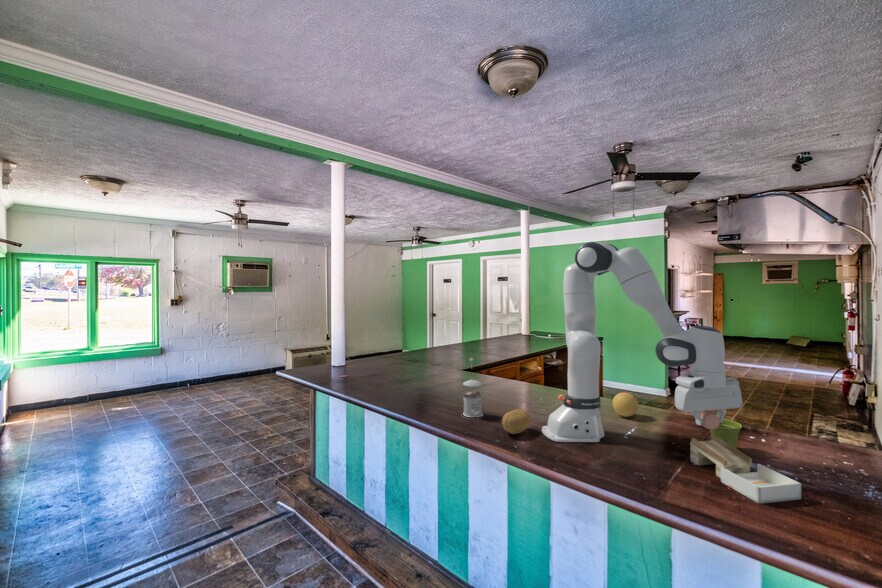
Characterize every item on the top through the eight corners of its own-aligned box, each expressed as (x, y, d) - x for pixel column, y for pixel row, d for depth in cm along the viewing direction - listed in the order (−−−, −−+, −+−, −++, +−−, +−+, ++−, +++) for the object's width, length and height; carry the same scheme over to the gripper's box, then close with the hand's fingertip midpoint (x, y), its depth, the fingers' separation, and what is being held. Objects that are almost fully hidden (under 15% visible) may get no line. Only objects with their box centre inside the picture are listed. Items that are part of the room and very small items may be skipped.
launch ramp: (724, 480, 108) (724, 454, 108) (690, 460, 120) (689, 437, 120) (752, 477, 109) (752, 451, 109) (716, 458, 121) (715, 435, 121)
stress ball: (614, 420, 161) (631, 409, 154) (603, 398, 167) (620, 387, 160) (630, 420, 165) (648, 410, 158) (620, 399, 171) (636, 388, 164)
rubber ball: (696, 426, 120) (695, 410, 120) (710, 425, 121) (710, 409, 121) (709, 432, 116) (708, 415, 116) (724, 431, 116) (723, 414, 116)
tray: (758, 503, 96) (758, 487, 96) (720, 481, 107) (720, 467, 107) (801, 499, 98) (801, 483, 98) (759, 477, 109) (759, 463, 109)
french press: (456, 415, 168) (455, 358, 168) (472, 409, 177) (471, 354, 177) (475, 420, 162) (474, 360, 162) (490, 413, 171) (489, 356, 170)
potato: (494, 435, 145) (494, 414, 145) (513, 424, 156) (512, 405, 156) (518, 441, 139) (517, 419, 138) (535, 429, 149) (535, 409, 149)
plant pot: (749, 454, 124) (749, 427, 124) (722, 455, 123) (721, 428, 123) (726, 442, 133) (726, 417, 133) (700, 444, 133) (700, 419, 133)
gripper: (729, 374, 123) (730, 417, 123) (670, 378, 120) (672, 423, 120) (747, 379, 117) (748, 424, 117) (685, 383, 114) (687, 430, 114)
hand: (709, 423), depth 118 cm, fingers closed on rubber ball, 5 cm apart
